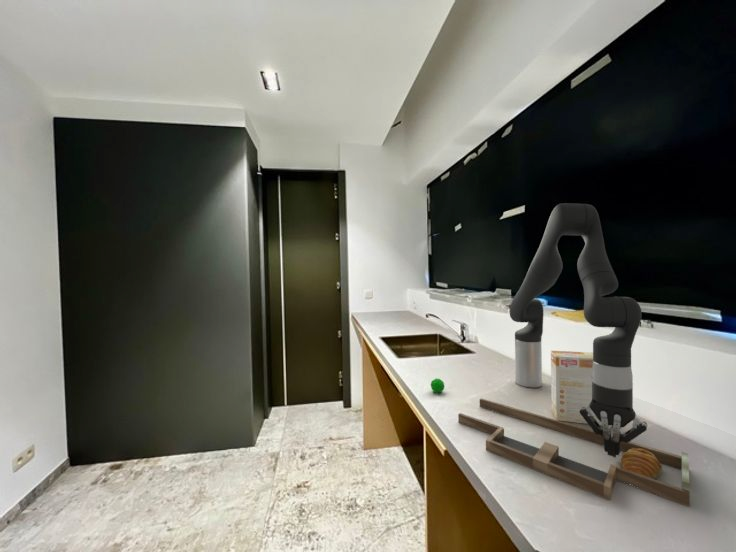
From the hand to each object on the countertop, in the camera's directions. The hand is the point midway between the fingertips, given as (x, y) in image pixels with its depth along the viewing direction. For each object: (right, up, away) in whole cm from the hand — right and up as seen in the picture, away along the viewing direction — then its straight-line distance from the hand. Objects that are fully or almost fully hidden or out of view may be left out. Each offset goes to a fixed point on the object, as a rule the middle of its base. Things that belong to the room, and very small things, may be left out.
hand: (611, 454), depth 73 cm
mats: (-15, -2, 0) cm, 15 cm away
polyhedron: (-31, -1, +43) cm, 53 cm away
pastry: (+4, -2, -4) cm, 6 cm away
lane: (-11, -2, +5) cm, 12 cm away
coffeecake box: (+7, -1, +20) cm, 21 cm away
